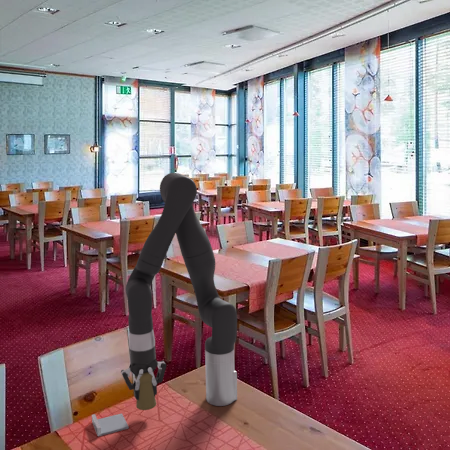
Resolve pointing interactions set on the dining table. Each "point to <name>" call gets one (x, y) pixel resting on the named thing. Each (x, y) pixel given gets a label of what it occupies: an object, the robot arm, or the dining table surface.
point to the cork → (146, 393)
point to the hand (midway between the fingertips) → (145, 397)
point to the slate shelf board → (112, 424)
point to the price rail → (96, 425)
